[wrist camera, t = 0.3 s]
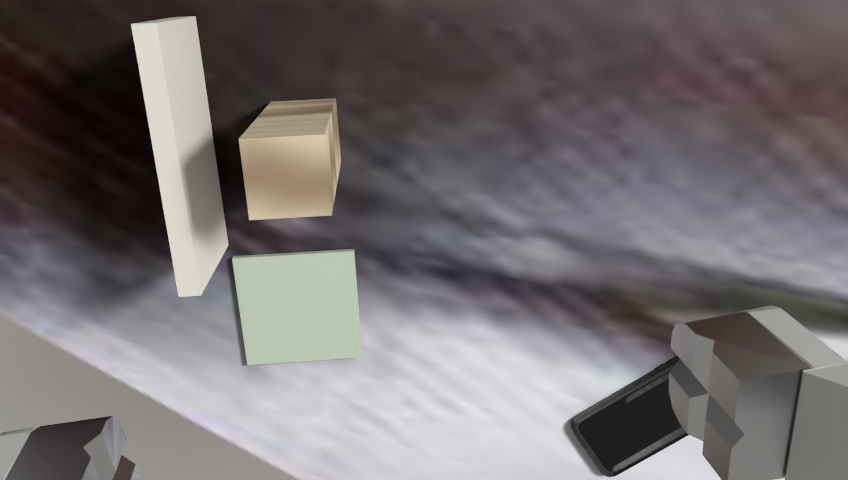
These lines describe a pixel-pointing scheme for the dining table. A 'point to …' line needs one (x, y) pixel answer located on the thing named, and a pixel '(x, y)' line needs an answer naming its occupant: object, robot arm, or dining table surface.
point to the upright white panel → (182, 147)
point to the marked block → (291, 160)
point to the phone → (630, 423)
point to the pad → (298, 306)
